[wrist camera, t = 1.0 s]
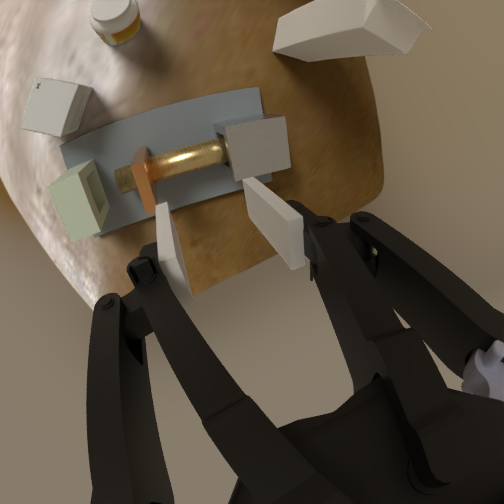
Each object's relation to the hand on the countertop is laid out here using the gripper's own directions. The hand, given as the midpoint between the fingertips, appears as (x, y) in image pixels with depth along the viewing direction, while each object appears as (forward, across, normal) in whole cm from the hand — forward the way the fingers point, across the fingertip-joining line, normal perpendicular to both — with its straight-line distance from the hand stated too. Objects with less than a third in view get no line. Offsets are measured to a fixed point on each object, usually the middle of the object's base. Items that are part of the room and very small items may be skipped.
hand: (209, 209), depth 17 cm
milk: (+21, +19, +14) cm, 31 cm away
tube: (+19, +2, 0) cm, 19 cm away
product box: (+21, -13, +12) cm, 28 cm away
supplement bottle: (+21, -4, +20) cm, 29 cm away
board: (+21, -2, 0) cm, 21 cm away
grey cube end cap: (+20, +8, 0) cm, 21 cm away
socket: (+20, -13, 0) cm, 24 cm away
